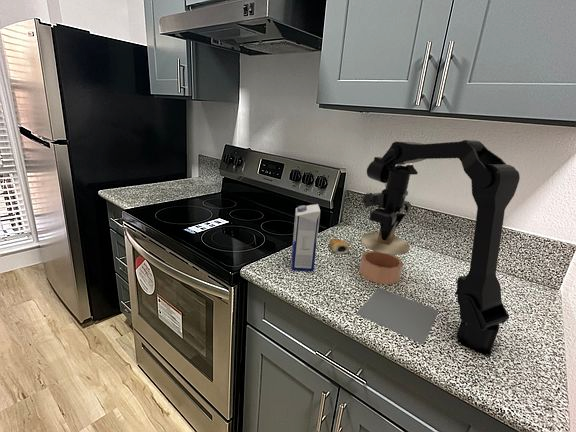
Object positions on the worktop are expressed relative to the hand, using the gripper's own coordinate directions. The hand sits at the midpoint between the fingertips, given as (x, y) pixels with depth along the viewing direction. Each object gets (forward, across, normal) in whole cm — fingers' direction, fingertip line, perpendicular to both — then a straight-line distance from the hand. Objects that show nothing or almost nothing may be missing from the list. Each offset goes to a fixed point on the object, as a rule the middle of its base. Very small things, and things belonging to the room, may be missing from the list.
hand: (386, 238), depth 92 cm
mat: (+13, +16, +11) cm, 23 cm away
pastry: (+13, -8, -18) cm, 24 cm away
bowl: (+13, 0, 0) cm, 13 cm away
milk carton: (+13, +12, -21) cm, 27 cm away
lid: (+2, 0, 0) cm, 2 cm away
